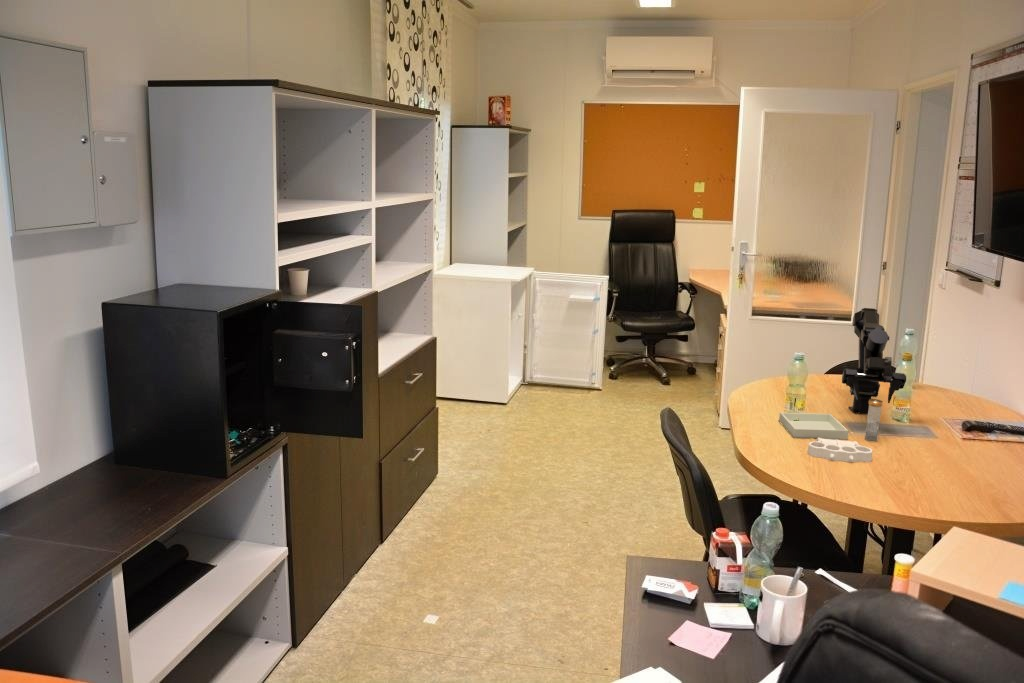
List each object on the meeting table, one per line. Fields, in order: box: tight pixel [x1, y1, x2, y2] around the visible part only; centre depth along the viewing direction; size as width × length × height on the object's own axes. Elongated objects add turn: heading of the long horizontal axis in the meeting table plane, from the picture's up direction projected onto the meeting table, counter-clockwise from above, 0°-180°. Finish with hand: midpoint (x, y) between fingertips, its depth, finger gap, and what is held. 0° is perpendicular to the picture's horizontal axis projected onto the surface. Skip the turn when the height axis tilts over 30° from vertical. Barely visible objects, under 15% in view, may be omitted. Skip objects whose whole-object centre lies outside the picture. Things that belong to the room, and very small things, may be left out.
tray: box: [778, 411, 850, 440], centre depth 267 cm, size 17×17×3 cm
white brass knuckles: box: [807, 438, 874, 463], centre depth 246 cm, size 3×18×15 cm
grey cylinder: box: [864, 398, 883, 442], centre depth 257 cm, size 4×4×13 cm
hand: (873, 401), depth 261 cm, fingers open, 9 cm apart
